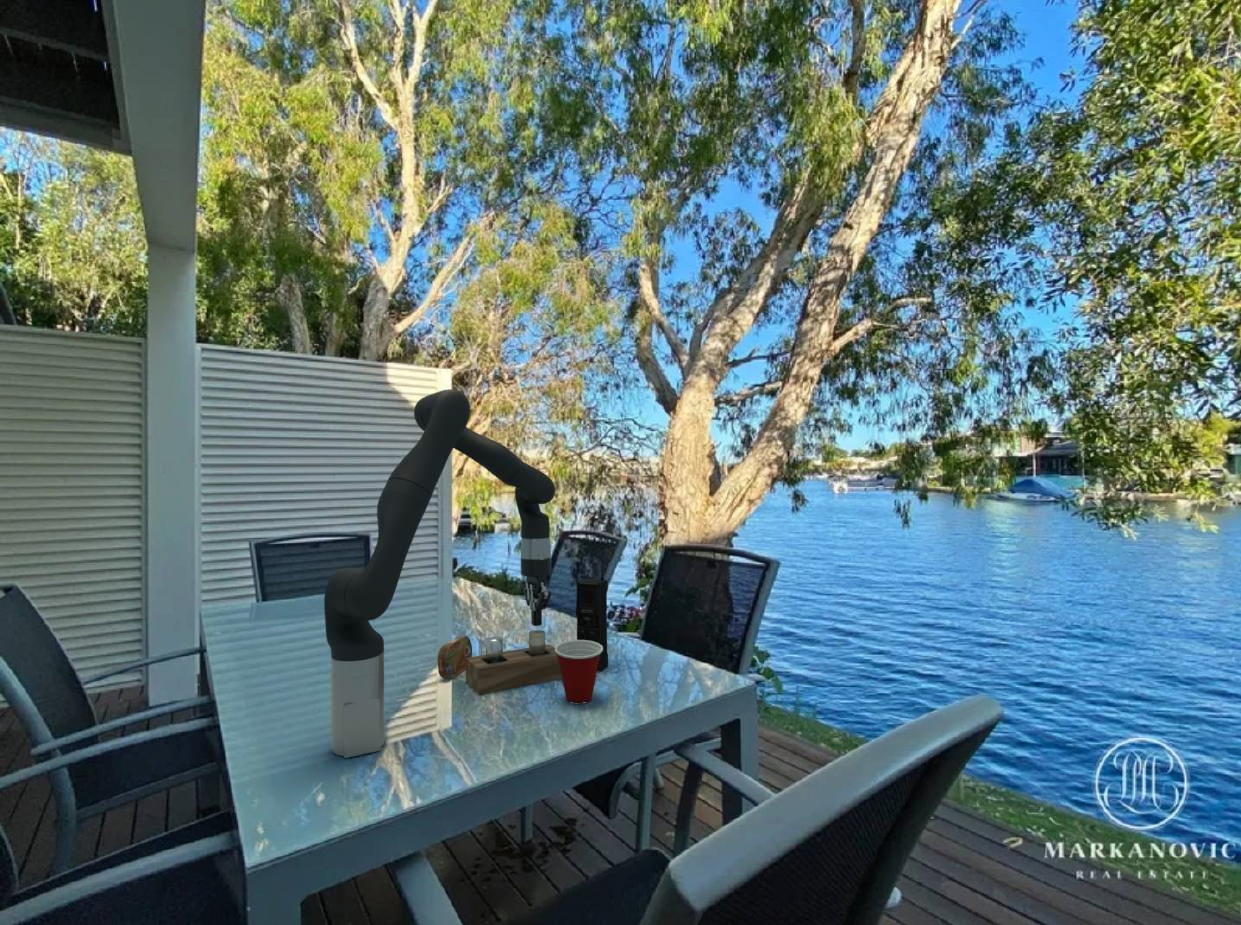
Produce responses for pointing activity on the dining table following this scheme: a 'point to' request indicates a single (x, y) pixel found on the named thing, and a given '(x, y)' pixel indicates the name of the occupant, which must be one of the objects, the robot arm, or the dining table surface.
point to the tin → (454, 657)
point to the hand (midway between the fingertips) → (536, 625)
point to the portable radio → (593, 614)
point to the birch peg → (536, 642)
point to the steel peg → (494, 649)
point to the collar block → (512, 670)
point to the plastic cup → (578, 668)
